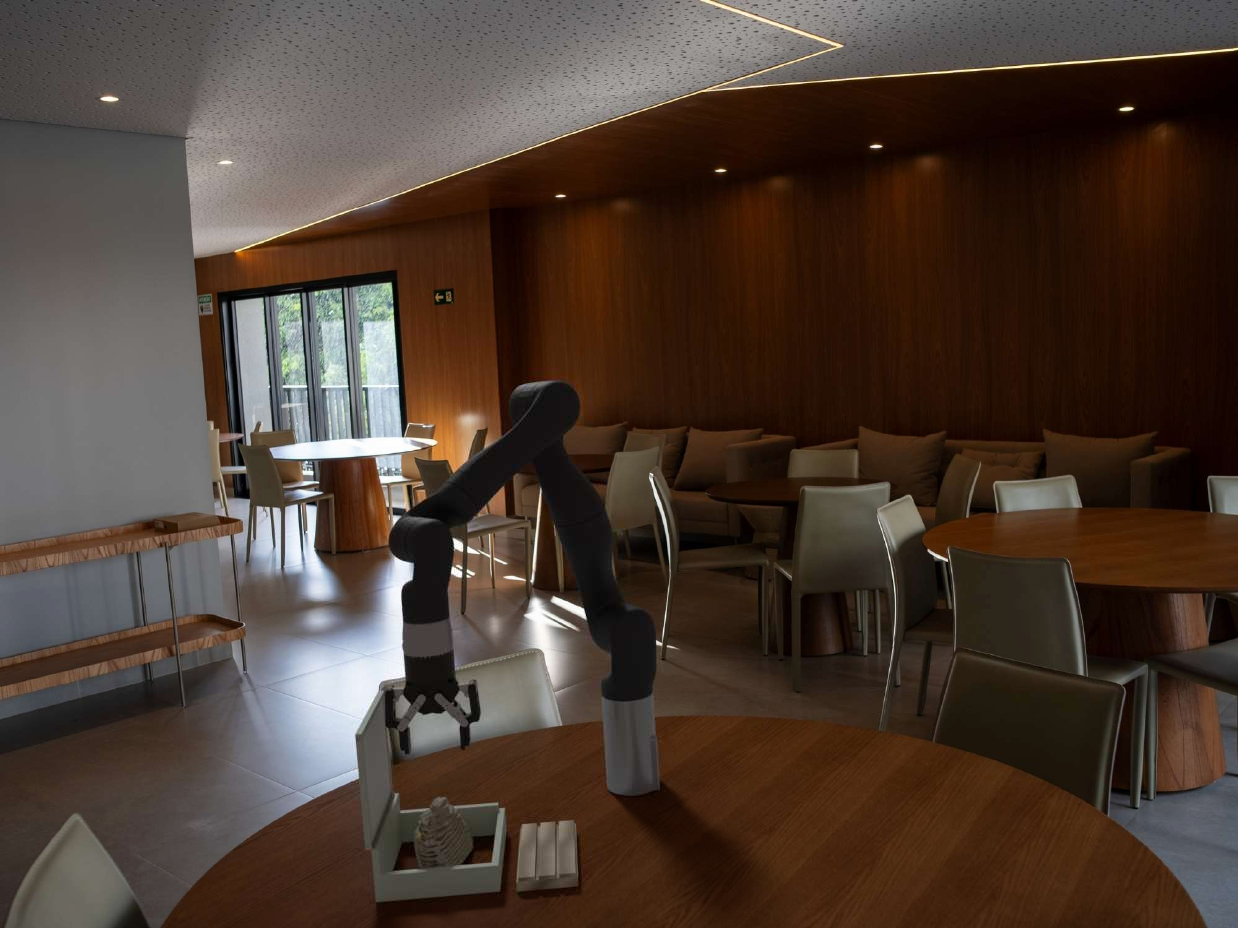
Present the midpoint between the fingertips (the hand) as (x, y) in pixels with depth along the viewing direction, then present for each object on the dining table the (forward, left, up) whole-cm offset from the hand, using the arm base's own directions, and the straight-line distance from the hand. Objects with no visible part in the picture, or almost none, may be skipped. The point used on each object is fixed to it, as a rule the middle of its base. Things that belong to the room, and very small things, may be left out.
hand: (435, 750), depth 154 cm
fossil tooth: (0, 0, -19) cm, 19 cm away
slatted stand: (-16, +1, -18) cm, 24 cm away
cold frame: (0, 0, -18) cm, 18 cm away
